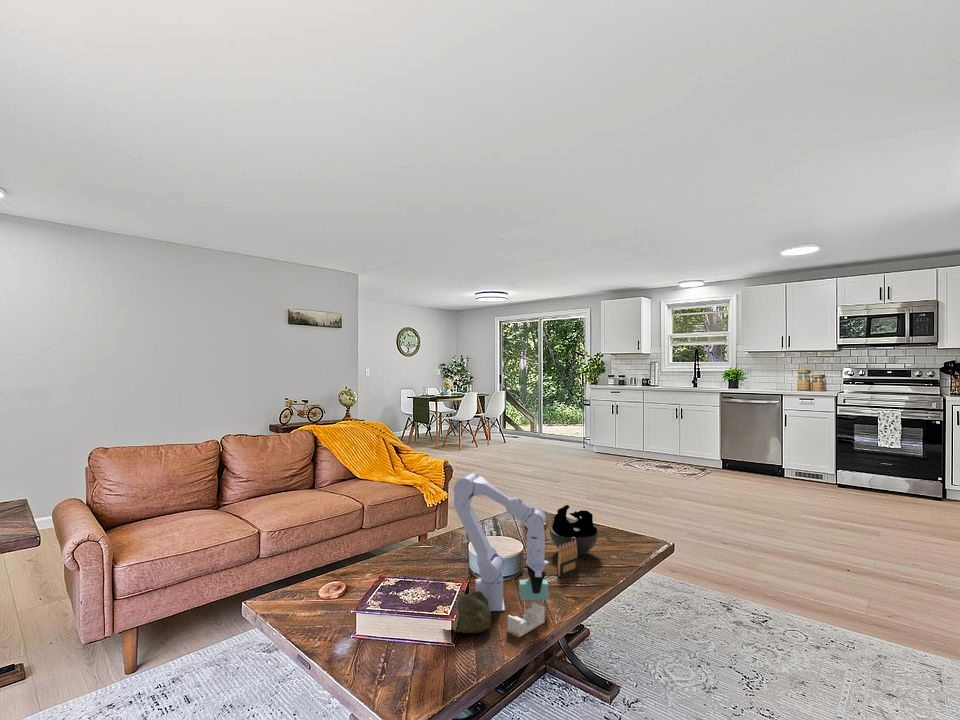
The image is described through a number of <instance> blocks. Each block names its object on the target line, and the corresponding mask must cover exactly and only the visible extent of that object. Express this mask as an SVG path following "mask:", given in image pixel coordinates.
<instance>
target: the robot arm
mask: <svg viewBox="0 0 960 720" xmlns="http://www.w3.org/2000/svg"><path fill="white" fill-rule="evenodd" d="M452 491H453V507H454V509H455V512H456V514H457V516H458V517H459V520H460V522H461V524H462V527H463V528H464V530H465V533H466V535H467V537H468V538H469V539H468V540H469V541H470V543H471V545H472V547H473V549H474V551H475V553H476V558H477V559H476V564H477V566H478V570H479V573H478V574H479V577H480V578H475V592H478V591H480V592H481V593H482V594H483V595H484V596H485V598H487V600H488V607H489V609H490V612H505V610H506V609H505V601H504V577H503V573H502V571H503V570H504V568H505V561H504V558H503V557H502V556H501V555H500V554H499V553H498V552H497V550H496V548H494V547H492V546H491V544H490V542H489V539H488V538H487V536H486V534H485V532H484V530H483V527H482V525H481V523H480V521H479V519H478V517H477V515H476V513H475V510H474V509H473V506H472V505H471V503H472V500H473V498H474V497H475V496H477V497H479V496H485V497H487V498H489V499H490V500H493V501H494V502H496V503H498V504H500V505H502V506H503V507H504V508H505V510H506V513H507V514H509V515H511V516H512V517H514V518H515V519H516V520H518V521H520V522H522V523H523V524H525V528H526V529H527V534H526V560H525V563H526V564H525V566H526V568H527V574H528V576H529V580H531V584H532V591H533V593H540V590H541V585H542V581H543V580H545V578H546V574H547V573H546V571H543V570H544V568H545V566H548V565H549V561H548V560H546V559H545V557H546V555H545V553H546V552H545V550H546V549H545V543H546V540H545V539H546V533H545V532H546V531H545V524H546V522H547V521H546V520H547V515H546V513H545V511H544V510H542V508H538V507H537V508H536V507H535V506H531V505H529V504H528V503H526V502H525V501H523V498H522V497H517V496H515V497H510V496H509V495H507V493H504V492H503V491H502V490H500V489H498V488H497V487H496V486H494V485H493V484H492V483H490V482H489V481H487V480H486V479H485V478H484V477H483V476H480V475H478V474H477V473H475V472H468V473H467V474H465V475H464V476H463V477H461V478H459V479H457V481H456V483H455V484H454V486H453V488H452Z"/></svg>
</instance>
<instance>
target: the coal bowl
mask: <svg viewBox="0 0 960 720" xmlns="http://www.w3.org/2000/svg"><path fill="white" fill-rule="evenodd" d="M569 509H570V505H569V504H565V505H563V507H560V508H558V509H557V510H556V512H557V513H556V514H555V515H554V518H553V523H552V526H551V527H550V528H549V534H550V538H551V541H552V543H553V544H554V546H555V547H556V548H557V549H558V550H559V546H560V545H561V548H562V545H563V543H564V546H565V543H566V542H567V545H568V542H569V541H570V545H571V541H572V540H573V544H574V540H575V539H576V543H577V557H578V556H581V555H585V554H587V553H589V551H591V550H592V549H593V547H594V546H595V545H596V543H597V541H598V537H599V531H598V529H597V527H596V526H594V521H593V513H591V512H590V511H589V510H579V511H573V512H569V515H570V516H572V517H573V518H575V519H577V520H576V521H575V522H570V521H569V520H568V519H567V514H568V513H567V512H568V510H569Z"/></svg>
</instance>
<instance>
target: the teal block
mask: <svg viewBox="0 0 960 720" xmlns="http://www.w3.org/2000/svg"><path fill="white" fill-rule="evenodd" d="M518 580H519V582H518V584H519V587H518V588H519V590H518V591H519V592H518V593H519V595H518V596H519V600H520V601H539V600H540V601H548V600H549V583H548V580H547V579H543V581H542V585H541V590H540V593H533V591H532V584H531V580H530V579H518Z"/></svg>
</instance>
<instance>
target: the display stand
mask: <svg viewBox="0 0 960 720" xmlns="http://www.w3.org/2000/svg"><path fill="white" fill-rule="evenodd" d="M545 619H546V618H545V606H544V605H542V604H539V603H537V602H535V601H532V602H531V607H528V608H527V609H526V610H525V613H523V614H522V618H521V617H520V616H516V615H514V616H512V615H510V614H509V615H507V630H506V631H507V633H509V634H511V635H513V636H515V637H518V638H520V637H522V636H525V634H527V633H529V632H530V631H532V630H534V629H535V628H537V627H539V626H541V625H542V624H544V623H545Z"/></svg>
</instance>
